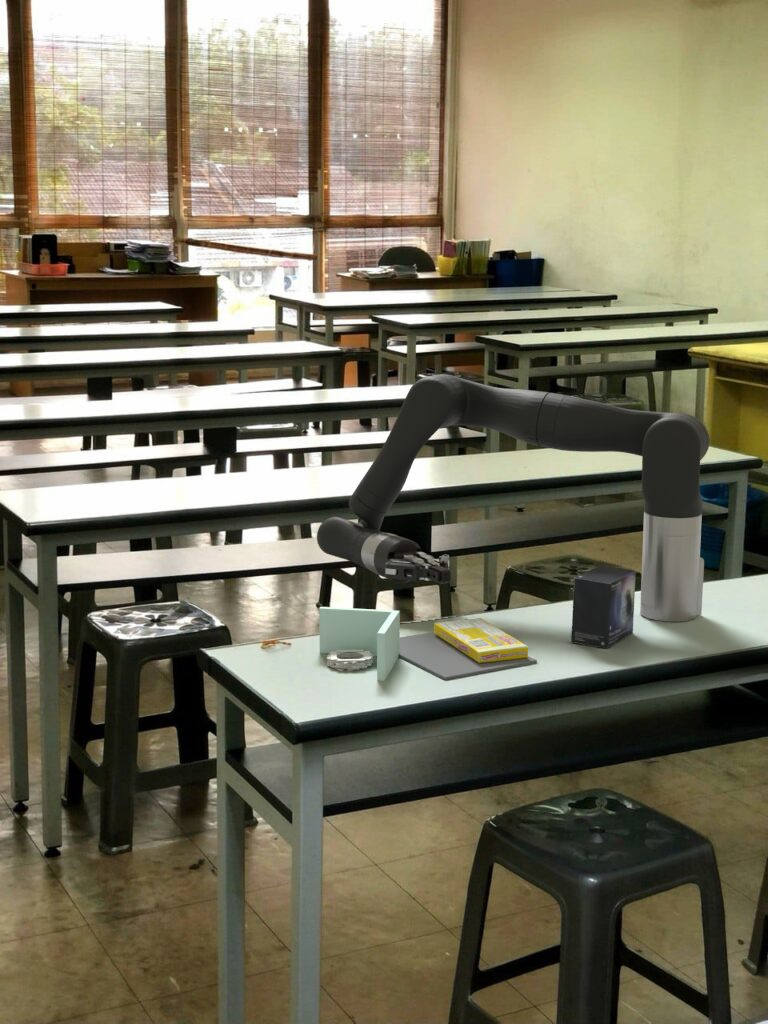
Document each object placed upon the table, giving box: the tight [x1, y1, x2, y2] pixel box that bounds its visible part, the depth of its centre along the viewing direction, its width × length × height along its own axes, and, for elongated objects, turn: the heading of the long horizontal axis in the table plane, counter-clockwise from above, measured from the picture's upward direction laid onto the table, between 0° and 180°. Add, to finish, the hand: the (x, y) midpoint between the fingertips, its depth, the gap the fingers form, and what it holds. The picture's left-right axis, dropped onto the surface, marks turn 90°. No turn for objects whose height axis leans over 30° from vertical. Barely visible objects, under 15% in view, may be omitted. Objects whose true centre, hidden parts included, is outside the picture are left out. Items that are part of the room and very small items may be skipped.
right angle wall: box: [318, 606, 401, 682], centre depth 192 cm, size 12×12×8 cm
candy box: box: [433, 617, 529, 663], centre depth 201 cm, size 16×2×8 cm
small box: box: [570, 564, 637, 649], centre depth 206 cm, size 11×6×10 cm, turn 147°
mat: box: [398, 631, 538, 681], centre depth 199 cm, size 16×20×1 cm
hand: (446, 577), depth 214 cm, fingers closed
